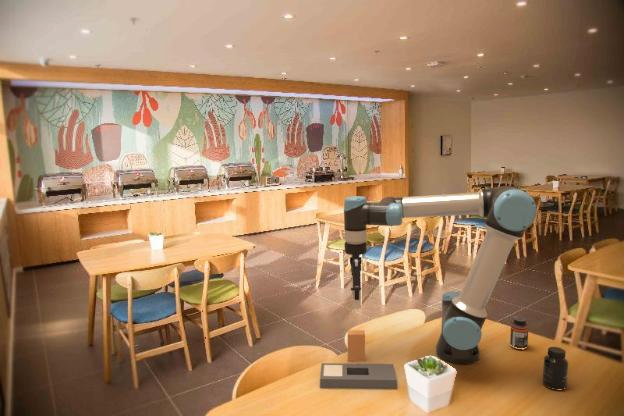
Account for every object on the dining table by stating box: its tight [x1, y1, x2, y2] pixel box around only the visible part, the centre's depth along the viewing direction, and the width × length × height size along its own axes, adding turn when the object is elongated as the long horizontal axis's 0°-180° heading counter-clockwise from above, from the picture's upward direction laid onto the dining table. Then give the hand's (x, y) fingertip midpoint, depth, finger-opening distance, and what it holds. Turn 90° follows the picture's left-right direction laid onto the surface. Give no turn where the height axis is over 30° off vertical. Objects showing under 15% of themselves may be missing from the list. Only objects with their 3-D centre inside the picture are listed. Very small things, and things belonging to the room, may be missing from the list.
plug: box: [347, 329, 366, 362], centre depth 157 cm, size 6×4×11 cm, turn 86°
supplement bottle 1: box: [509, 316, 529, 348], centre depth 165 cm, size 6×6×11 cm
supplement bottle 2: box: [542, 346, 569, 389], centre depth 139 cm, size 7×7×12 cm
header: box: [319, 362, 398, 390], centre depth 144 cm, size 24×10×4 cm, turn 86°
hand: (356, 301), depth 155 cm, fingers open, 13 cm apart
